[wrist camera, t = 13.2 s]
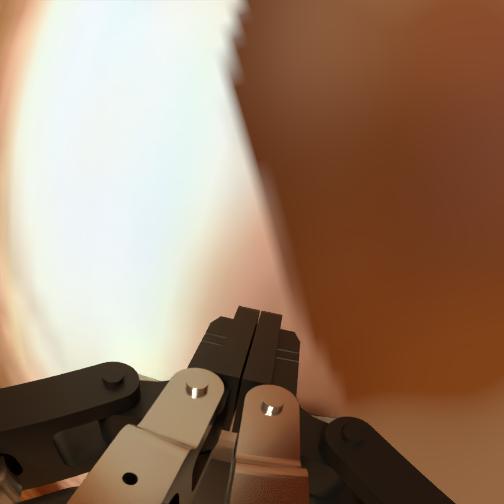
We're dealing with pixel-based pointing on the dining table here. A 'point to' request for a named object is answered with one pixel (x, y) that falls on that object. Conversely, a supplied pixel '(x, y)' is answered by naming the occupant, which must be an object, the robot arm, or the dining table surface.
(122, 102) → the dining table surface
